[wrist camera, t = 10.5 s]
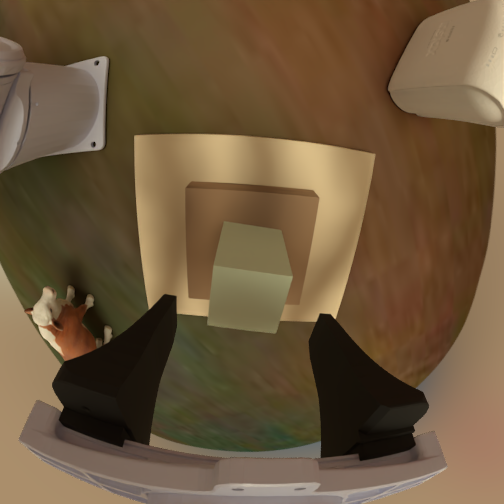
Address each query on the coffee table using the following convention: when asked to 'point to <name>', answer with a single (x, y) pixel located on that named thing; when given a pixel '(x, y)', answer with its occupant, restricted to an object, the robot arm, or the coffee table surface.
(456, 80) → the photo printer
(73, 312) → the bull figurine
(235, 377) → the coffee table surface
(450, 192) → the coffee table surface
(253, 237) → the sage block
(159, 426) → the coffee table surface
